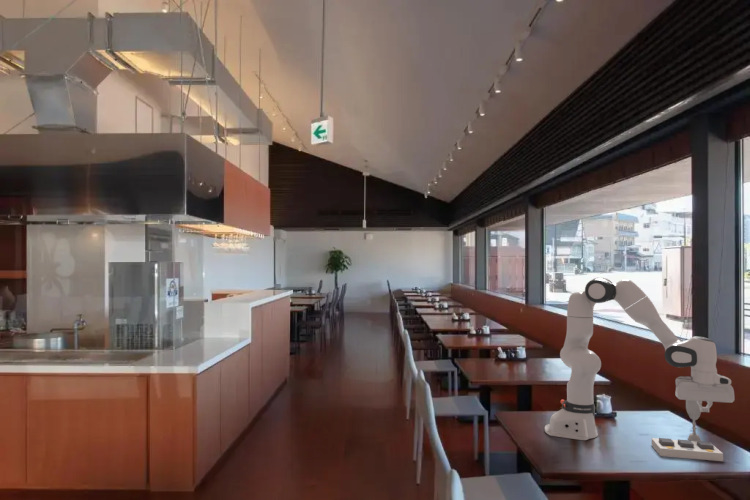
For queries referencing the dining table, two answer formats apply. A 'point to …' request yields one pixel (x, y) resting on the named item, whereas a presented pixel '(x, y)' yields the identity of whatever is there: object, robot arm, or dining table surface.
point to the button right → (705, 445)
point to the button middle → (685, 443)
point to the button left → (666, 442)
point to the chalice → (693, 417)
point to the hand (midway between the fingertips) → (704, 411)
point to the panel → (687, 451)
